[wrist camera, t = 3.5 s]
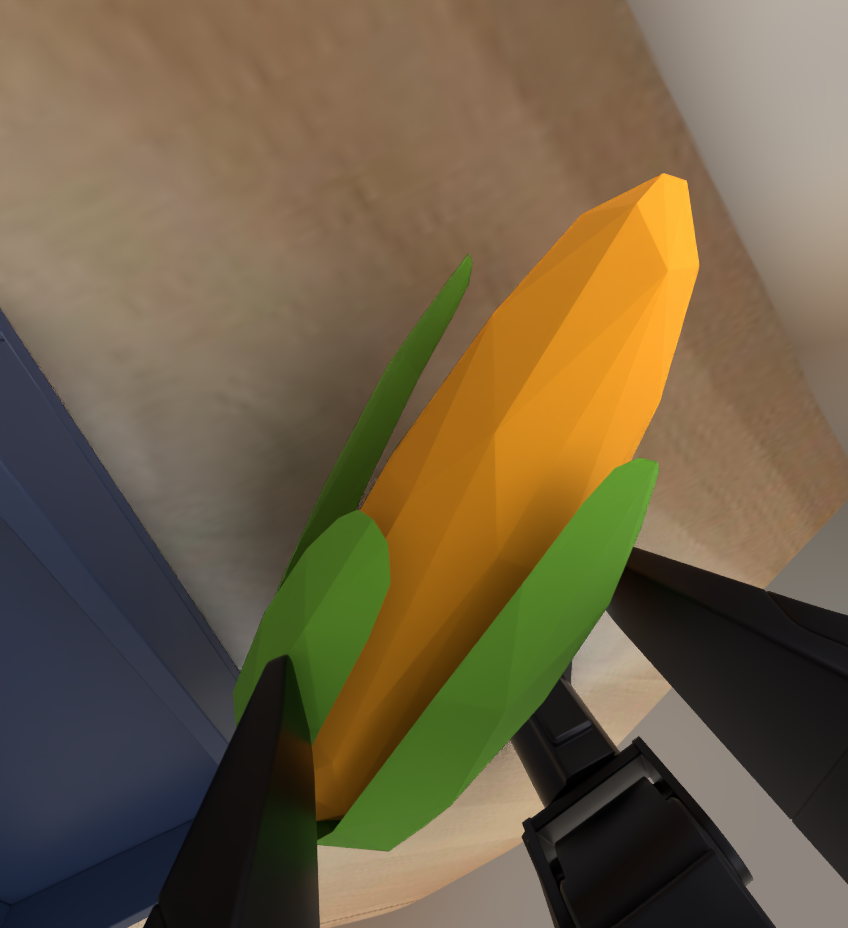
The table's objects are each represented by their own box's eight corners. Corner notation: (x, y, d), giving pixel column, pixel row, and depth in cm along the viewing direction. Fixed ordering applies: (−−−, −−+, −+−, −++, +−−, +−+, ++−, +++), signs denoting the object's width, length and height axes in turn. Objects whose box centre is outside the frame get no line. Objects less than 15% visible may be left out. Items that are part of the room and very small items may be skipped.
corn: (129, 1023, 7) (887, -363, 3) (204, 677, 14) (460, 104, 9) (432, 926, 11) (998, 247, 6) (378, 686, 17) (629, 270, 13)
